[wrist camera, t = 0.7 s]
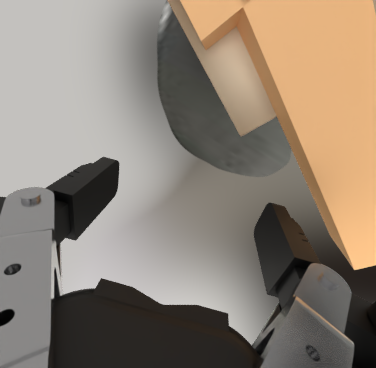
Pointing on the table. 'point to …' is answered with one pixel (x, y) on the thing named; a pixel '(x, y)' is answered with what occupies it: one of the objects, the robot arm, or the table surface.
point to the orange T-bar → (316, 98)
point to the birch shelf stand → (231, 75)
